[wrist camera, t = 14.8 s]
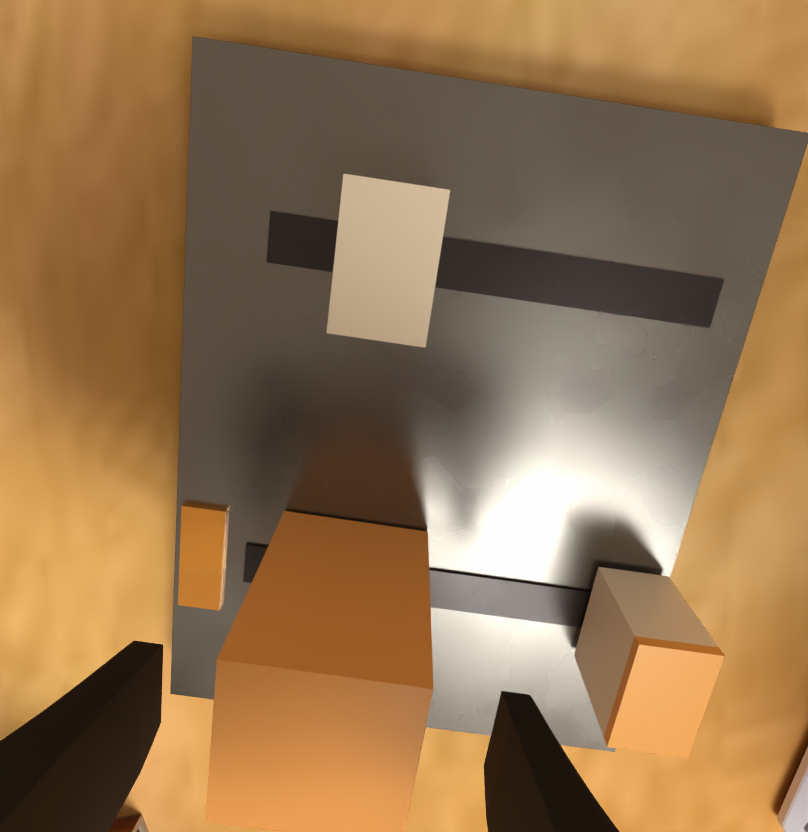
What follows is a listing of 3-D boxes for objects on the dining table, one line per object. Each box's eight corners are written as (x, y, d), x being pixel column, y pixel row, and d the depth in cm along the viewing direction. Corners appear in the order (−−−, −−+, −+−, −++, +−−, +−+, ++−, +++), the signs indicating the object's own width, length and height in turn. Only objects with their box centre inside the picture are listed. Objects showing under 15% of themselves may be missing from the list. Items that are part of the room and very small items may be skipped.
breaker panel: (773, 141, 15) (815, 132, 14) (601, 715, 21) (616, 757, 19) (214, 54, 15) (189, 33, 13) (187, 660, 20) (167, 698, 19)
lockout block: (427, 531, 17) (433, 689, 11) (406, 650, 18) (401, 847, 13) (284, 510, 17) (216, 659, 11) (272, 632, 18) (205, 822, 12)
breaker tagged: (668, 576, 17) (724, 656, 14) (641, 664, 18) (688, 757, 15) (598, 566, 17) (638, 644, 14) (573, 655, 18) (606, 747, 15)
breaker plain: (443, 195, 14) (450, 189, 11) (423, 323, 15) (425, 347, 12) (358, 182, 14) (343, 173, 11) (343, 311, 15) (326, 333, 12)
